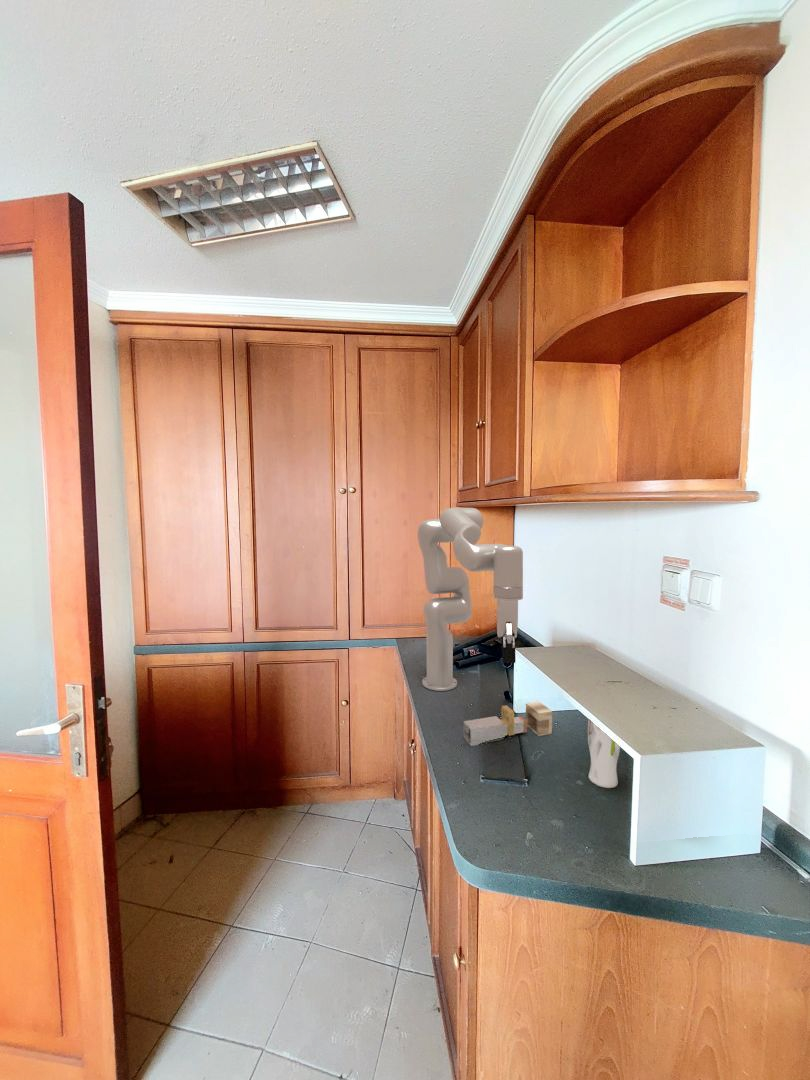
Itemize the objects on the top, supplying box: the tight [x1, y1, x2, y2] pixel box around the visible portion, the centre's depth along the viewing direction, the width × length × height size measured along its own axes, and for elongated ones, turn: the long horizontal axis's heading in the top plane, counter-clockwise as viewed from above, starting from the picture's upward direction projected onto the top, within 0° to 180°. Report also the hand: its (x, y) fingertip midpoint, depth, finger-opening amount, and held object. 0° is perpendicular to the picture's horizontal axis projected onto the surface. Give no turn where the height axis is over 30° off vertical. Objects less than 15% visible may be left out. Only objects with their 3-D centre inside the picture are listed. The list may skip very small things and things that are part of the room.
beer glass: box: [587, 718, 621, 789], centre depth 95 cm, size 7×7×15 cm
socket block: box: [525, 700, 553, 737], centre depth 118 cm, size 6×4×6 cm
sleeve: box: [463, 715, 506, 747], centre depth 113 cm, size 5×10×5 cm, turn 107°
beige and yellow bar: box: [470, 705, 528, 736], centre depth 114 cm, size 4×16×7 cm, turn 107°
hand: (508, 656), depth 110 cm, fingers open, 9 cm apart
